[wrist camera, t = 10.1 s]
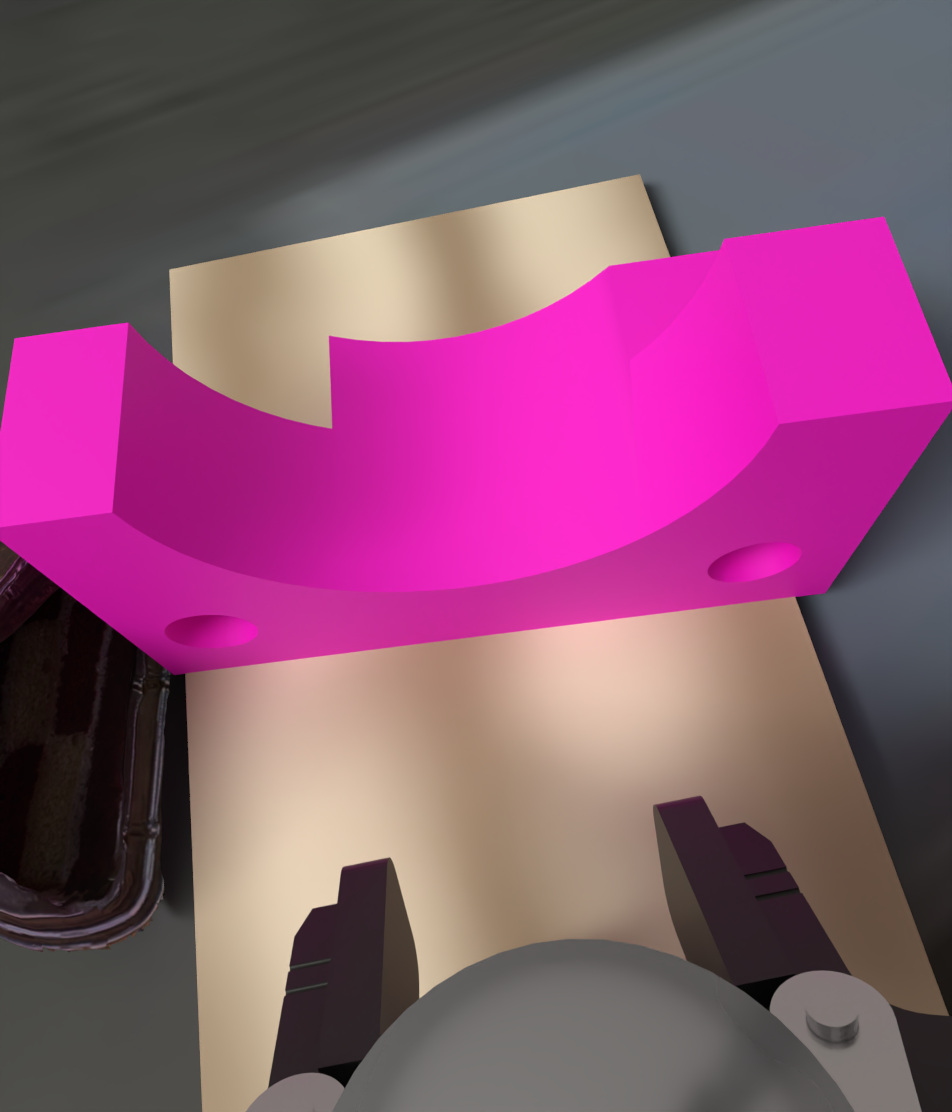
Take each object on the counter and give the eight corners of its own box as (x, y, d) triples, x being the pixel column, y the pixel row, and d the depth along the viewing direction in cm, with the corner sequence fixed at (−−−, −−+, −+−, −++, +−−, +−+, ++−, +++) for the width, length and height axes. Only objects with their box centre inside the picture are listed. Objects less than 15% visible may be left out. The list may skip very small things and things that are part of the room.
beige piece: (638, 190, 27) (694, -395, 15) (977, 1126, 16) (1948, 1477, 5) (177, 284, 27) (-110, -231, 15) (221, 1277, 16) (-576, 1983, 5)
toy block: (759, 369, 23) (843, 114, 16) (824, 593, 20) (957, 400, 13) (184, 447, 23) (31, 232, 17) (174, 675, 21) (-15, 529, 14)
